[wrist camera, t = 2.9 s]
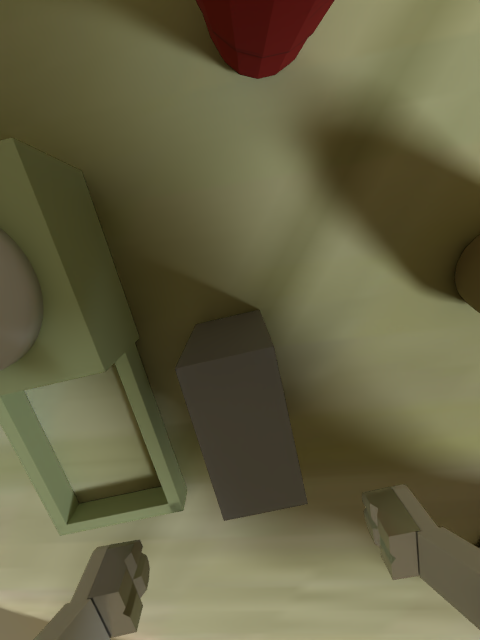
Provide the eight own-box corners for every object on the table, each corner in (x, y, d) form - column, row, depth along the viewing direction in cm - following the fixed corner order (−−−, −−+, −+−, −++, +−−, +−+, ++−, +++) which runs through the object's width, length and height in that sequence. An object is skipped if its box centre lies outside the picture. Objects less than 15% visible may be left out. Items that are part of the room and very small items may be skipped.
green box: (81, 170, 19) (-11, 126, 12) (192, 489, 26) (176, 580, 19) (-87, 214, 19) (-270, 197, 12) (67, 515, 26) (7, 613, 19)
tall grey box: (259, 309, 21) (273, 346, 14) (283, 420, 24) (307, 503, 16) (196, 324, 22) (174, 368, 14) (227, 432, 24) (223, 520, 16)
